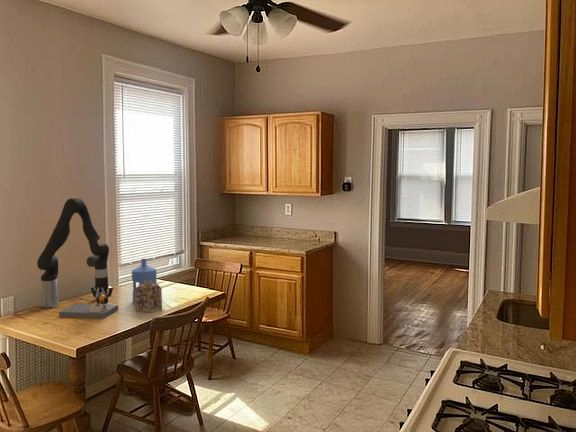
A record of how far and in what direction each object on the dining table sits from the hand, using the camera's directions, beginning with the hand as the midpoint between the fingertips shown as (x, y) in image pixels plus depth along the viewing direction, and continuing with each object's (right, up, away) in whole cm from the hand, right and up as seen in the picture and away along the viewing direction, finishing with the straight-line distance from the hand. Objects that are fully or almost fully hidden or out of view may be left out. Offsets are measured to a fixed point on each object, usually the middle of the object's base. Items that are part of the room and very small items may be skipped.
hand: (102, 303), depth 309 cm
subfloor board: (-7, -5, -4) cm, 9 cm away
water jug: (+19, -3, +24) cm, 31 cm away
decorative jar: (+28, -5, +3) cm, 28 cm away
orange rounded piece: (0, -3, 0) cm, 3 cm away
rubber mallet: (-13, -2, +29) cm, 32 cm away
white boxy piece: (0, -3, -10) cm, 10 cm away
